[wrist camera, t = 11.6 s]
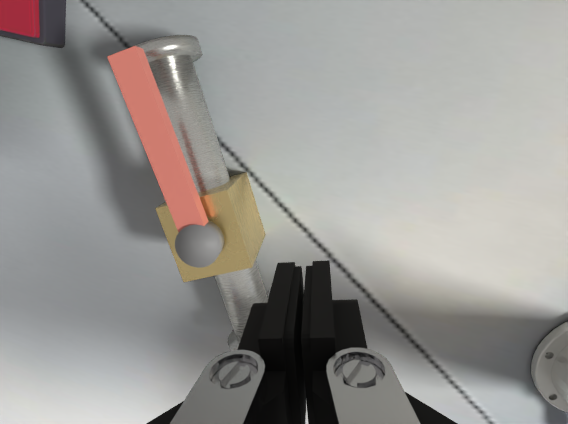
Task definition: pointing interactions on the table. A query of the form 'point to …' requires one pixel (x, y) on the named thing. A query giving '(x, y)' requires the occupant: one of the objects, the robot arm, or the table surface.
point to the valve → (209, 182)
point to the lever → (166, 159)
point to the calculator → (34, 21)
